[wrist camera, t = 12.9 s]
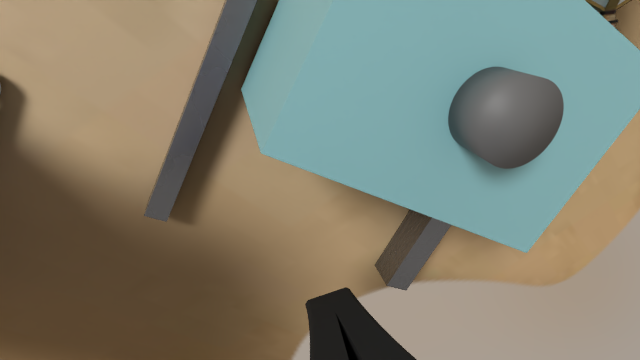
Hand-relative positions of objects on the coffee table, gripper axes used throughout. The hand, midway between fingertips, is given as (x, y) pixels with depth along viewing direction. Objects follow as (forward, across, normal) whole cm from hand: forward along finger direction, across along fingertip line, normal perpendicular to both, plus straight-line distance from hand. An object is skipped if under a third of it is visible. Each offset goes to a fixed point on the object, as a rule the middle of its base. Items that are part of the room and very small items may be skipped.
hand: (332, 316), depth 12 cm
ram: (+6, -5, -6) cm, 9 cm away
